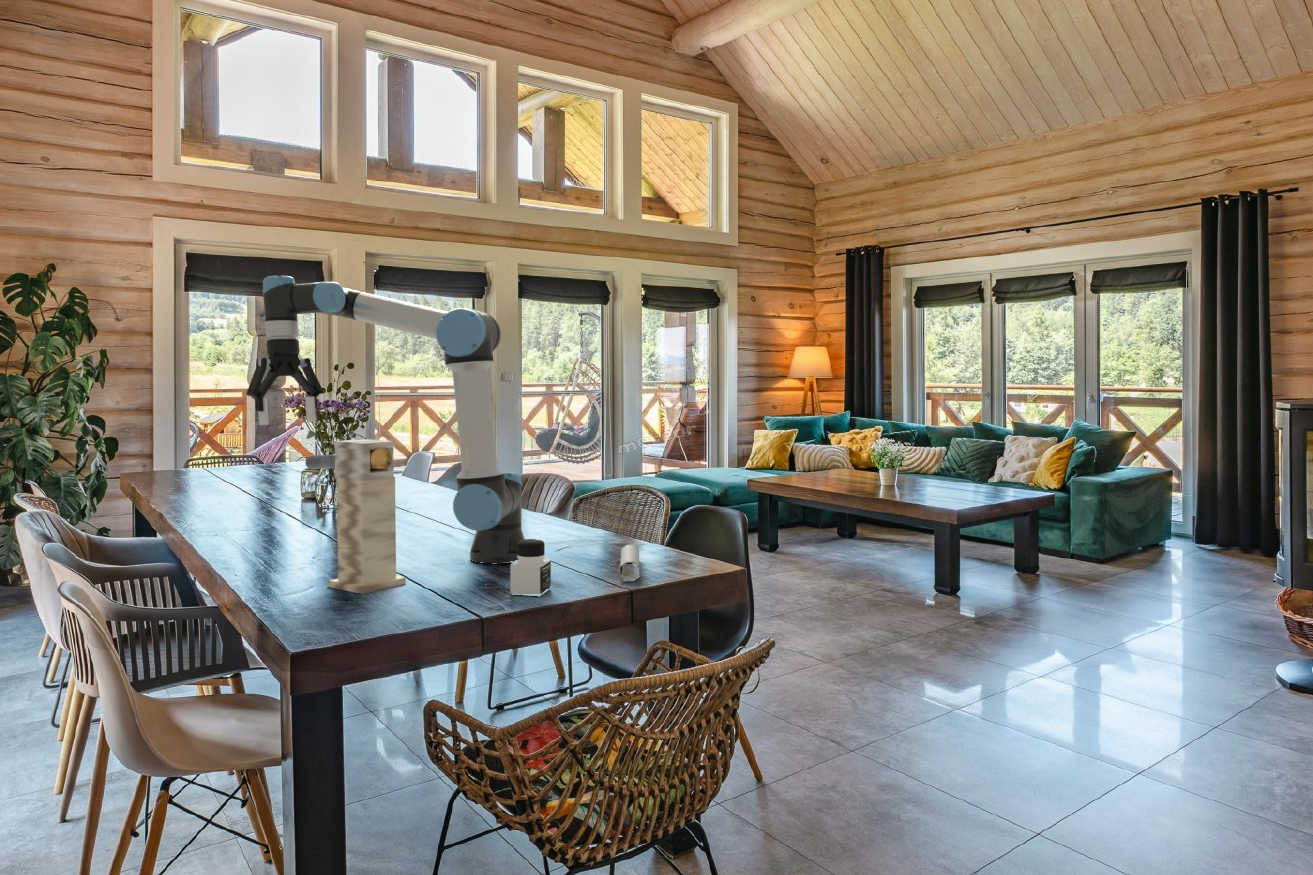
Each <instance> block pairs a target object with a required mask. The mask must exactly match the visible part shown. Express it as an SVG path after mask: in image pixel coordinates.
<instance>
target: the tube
mask: <svg viewBox="0 0 1313 875" xmlns="http://www.w3.org/2000/svg"><path fill="white" fill-rule="evenodd" d="M620 550H621V551H620V562H619V563H620V564H619V566H618V576H619V577H620V576H621V574H622V566H623V565H624V564H626V563H635V564H636V565H637V567H638V568H639V576H640V577H641V567H640V550H639V549H638V547H637V546H636V544H626V545H624V546H623V547H622V548H621V549H620Z"/></svg>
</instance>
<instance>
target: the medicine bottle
mask: <svg viewBox="0 0 1313 875" xmlns="http://www.w3.org/2000/svg"><path fill="white" fill-rule="evenodd" d="M545 554H546V553H545V542H544V541H543V540H542V539H539V538H524V539H523V540H521V541H519V542H518V543H517V558H518V559H519V560H517V561H516V562H514V563H511V564H509V565H510V568H509V569H510V594H511V593H516V594H542V593H543V592H544V591H545V590H546V589H549V588H550V587H551V586H552V585H551V583H552V580H551V578H552V577H551V576H552V575H551V574H552V570H551V569H552V562H551V561H552V559H549V558H545Z"/></svg>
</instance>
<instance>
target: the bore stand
mask: <svg viewBox="0 0 1313 875" xmlns="http://www.w3.org/2000/svg"><path fill="white" fill-rule="evenodd" d="M373 449H387V450H389V451H390V453H391V455H392V462H391V465H390V466H389V467H387V468H381V469H370V450H373ZM334 454H335V468H334V478H336V524H337V526H336V528H337V530H336V532H337V533H336V534H337V536H336V537H337V578H333V579H328V583H327V584H328V588H331V589H337V590H340V591H341V590H342V591H345V592H346V591H347V592H350V593H356V594H359V593H360V595H366V593H367V594H371V593H375V592H378V590H379V591H381V590H382V589H383V590H387V589H390V588H394V587H397V586H402V585H406V584H407V583H406V582H407V579H406V578H407V577H405V576H401V575H397V555H396V554H397V547H396V546H397V544H396V543H397V539H396V536H397V535H396V531H397V530H396V528H397V526H396V477H395V476H394V473H395V472H394V470H395V469H394V440H380V439H366V438H364V439H363V438H361V439H359V438H358V439H348V440H345V439H344V440H335V441H334ZM374 591H375V592H374ZM370 592H371V593H370Z"/></svg>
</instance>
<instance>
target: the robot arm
mask: <svg viewBox="0 0 1313 875" xmlns="http://www.w3.org/2000/svg"><path fill="white" fill-rule="evenodd" d="M262 297H263V298H262V299H263V307H264V321H265V323H264V325H265V337H266V338H267V339H266V340H267V341H266V354H267V355H268V358H267V357H257V359H256V365H255V370H254V372H253V374H252V378H251V380H250V383H249V385H248V387H247V390H246V395H247V396H248V397H251V398H252V399H253V400H254V405H255V406H254V407H255V411H256V412H257V413H258V423H259V424H258V425H259V426H267V425H268V426H269V423H270V421H269V408H268V398H267V397H266V398H264V397H265V396H266V394H267V393H268V391H269V390H270V389H271V387H272V385H274V382H275V381H276V380H277V378H278V377H291V378H293V379H294V380H295V381H296V383H297V384H298V386H299V387H300V388H301V389H302V390H303V391H304V392H305V394H306V395H307V396H305V398H304V400H305V414H306V416H305V417H306V423H314V422H315V423H316V422H317V418H316V416H317V414H316V409H318V400H317V399H318V398H317V397H318V396H320V394H323V393H324V390H323V388H322V386H321V383H320V382H319V379H318V378H317V375H316V373H315V371H314V369H313V367H312V362H311V358H309V357H305V358H300V357H299V354H300V350H301V349H300V342H299V339H298V338H299V335H300V334H299V333H300V332H299V322H298V315H302V314H303V315H304V314H322V315H330V316H335V317H336V316H337V317H342V318H345V319H351V320H354V321H361V322H364V323H367V324H372V325H375V326H376V325H377V326H381V327H384V328H389V329H394V330H398V331H402V332H404V333H405V332H406V333H408V334H409V333H410V334H414V335H419V336H422V337H427V338H431V339H435V340H437V344H438V345H439V347H440V348H441V350H442V351H443V353H444V364H445V367H446V368H447V369H449V370H450V371H451V372H452V378H453V379H452V380H453V382H452V383H453V390H454V400H455V402H454V403H455V409H456V410H455V411H456V422H457V432H458V442H459V451H460V452H459V453H460V464H461V470H460V471H459V473H458V474H456V488H457V493H456V494H455V496H454V498H453V502H452V509H453V514H454V516H455V518H456V520H457V521H458V522H459V523H460V524H461V525H462V526H463V527H465V528H467V529H469V530H471V531H475V534H474V538H473V541H472V544H471V546H470V547H471V548H470V551H469V560H470V559H471V560H473V561H476V562H483V563H502V562H510V561H515V560H519V559H518V558H517V543H518V542H519V541H521V540H523V539H525V537H524V533H523V531H522V487H523V483H522V477H521V475H520V474H519V473H517V472H504V471H503V469H501V468H500V467H499V466H498V462H497V452H496V451H497V450H496V449H497V448H496V442H495V441H496V440H495V431H494V418H493V408H492V407H493V406H492V397H491V388H490V386H491V385H490V376H489V369H490V367H491V366H492V365H493V364H494V351H495V350H496V349H497V348H498V347H499V344H500V342H501V337H502V331H501V327H500V325H499V323H498V321H497V319H496V318H494V316H492V315H490V314H489V313H487V312H485V311H480V310H476V309H474V308H471V307H456V308H454V309H451V310H449V311H445V310H442V309H438V308H437V309H436V308H432V307H430V306H425V305H419V304H415V303H412V302H408V301H404V300H403V301H402V300H397V299H393V298H389V297H386V296H380V295H376V294H372V293H367V292H362V291H359V290H354V289H351V288H348V287H342V286H341V284H340V283H339V282H336V281H325V280H324V281H318V282H308V283H306V282H305V283H304V282H303V283H296V280H295V278H294V277H293V276H289V275H269V276H266V277H265V278H264V279H263V280H262ZM268 367H269V368H270V369H268V370H267V368H268ZM299 367H301V369H300V368H299ZM266 371H267V373H266ZM265 374H266V375H265ZM471 560H470V561H471ZM473 561H472V562H473ZM476 562H475V563H476Z"/></svg>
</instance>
